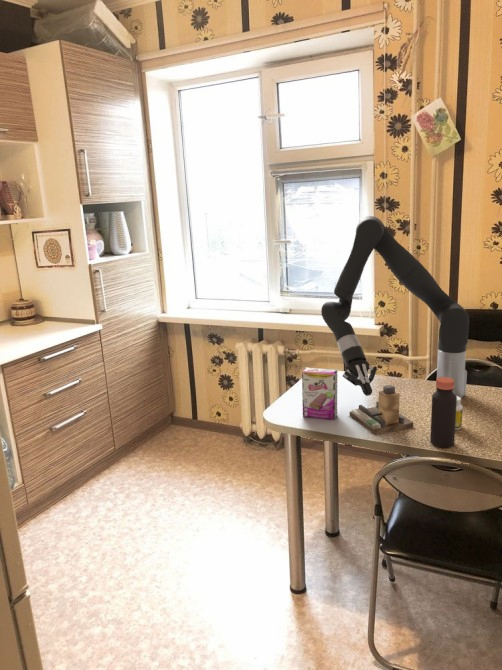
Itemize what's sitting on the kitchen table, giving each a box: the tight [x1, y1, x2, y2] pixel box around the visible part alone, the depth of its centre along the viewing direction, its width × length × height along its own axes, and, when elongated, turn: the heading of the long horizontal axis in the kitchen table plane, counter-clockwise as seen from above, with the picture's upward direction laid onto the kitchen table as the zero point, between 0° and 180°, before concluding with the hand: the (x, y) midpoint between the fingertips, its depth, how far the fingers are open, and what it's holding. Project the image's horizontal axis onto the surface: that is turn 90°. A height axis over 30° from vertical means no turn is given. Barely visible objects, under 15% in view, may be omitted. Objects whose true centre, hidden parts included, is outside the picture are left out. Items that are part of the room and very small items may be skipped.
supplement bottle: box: [455, 396, 464, 431], centre depth 174 cm, size 5×5×10 cm
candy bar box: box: [301, 367, 338, 421], centre depth 185 cm, size 11×5×16 cm, turn 71°
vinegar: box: [429, 377, 457, 449], centre depth 162 cm, size 7×7×20 cm
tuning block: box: [370, 384, 401, 425], centre depth 175 cm, size 9×4×12 cm, turn 109°
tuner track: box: [349, 400, 414, 436], centre depth 181 cm, size 14×16×4 cm
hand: (369, 394), depth 186 cm, fingers closed
